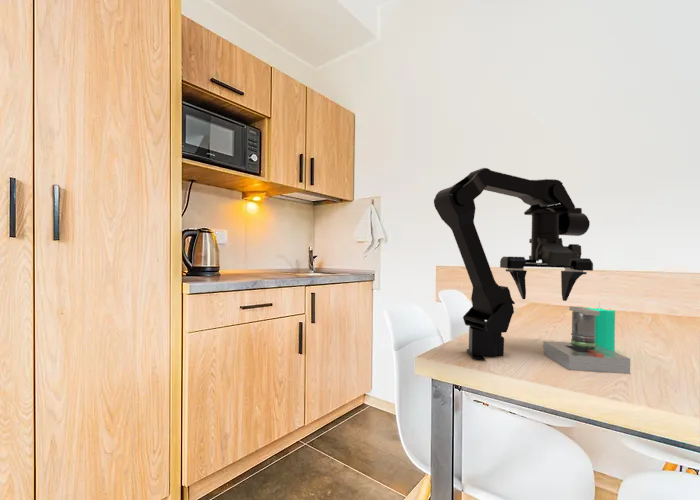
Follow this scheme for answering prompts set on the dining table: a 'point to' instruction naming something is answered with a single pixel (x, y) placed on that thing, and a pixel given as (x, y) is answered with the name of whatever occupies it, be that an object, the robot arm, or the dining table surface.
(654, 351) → the dining table surface
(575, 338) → the column
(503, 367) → the dining table surface
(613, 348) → the candle
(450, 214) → the robot arm
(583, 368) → the flat box
